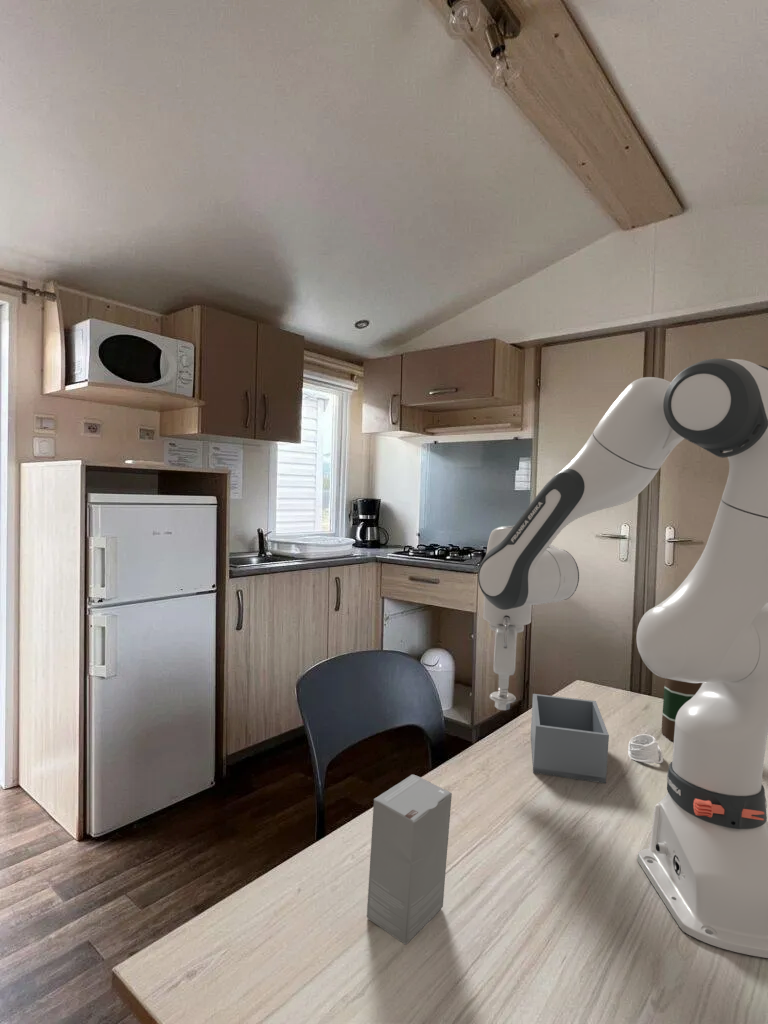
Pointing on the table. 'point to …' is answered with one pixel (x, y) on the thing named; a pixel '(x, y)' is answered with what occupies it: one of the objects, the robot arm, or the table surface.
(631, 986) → the table surface
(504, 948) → the table surface
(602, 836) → the table surface
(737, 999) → the table surface
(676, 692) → the beer bottle
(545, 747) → the tote
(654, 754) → the white crumpled ring
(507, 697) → the screw
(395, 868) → the skincare box
